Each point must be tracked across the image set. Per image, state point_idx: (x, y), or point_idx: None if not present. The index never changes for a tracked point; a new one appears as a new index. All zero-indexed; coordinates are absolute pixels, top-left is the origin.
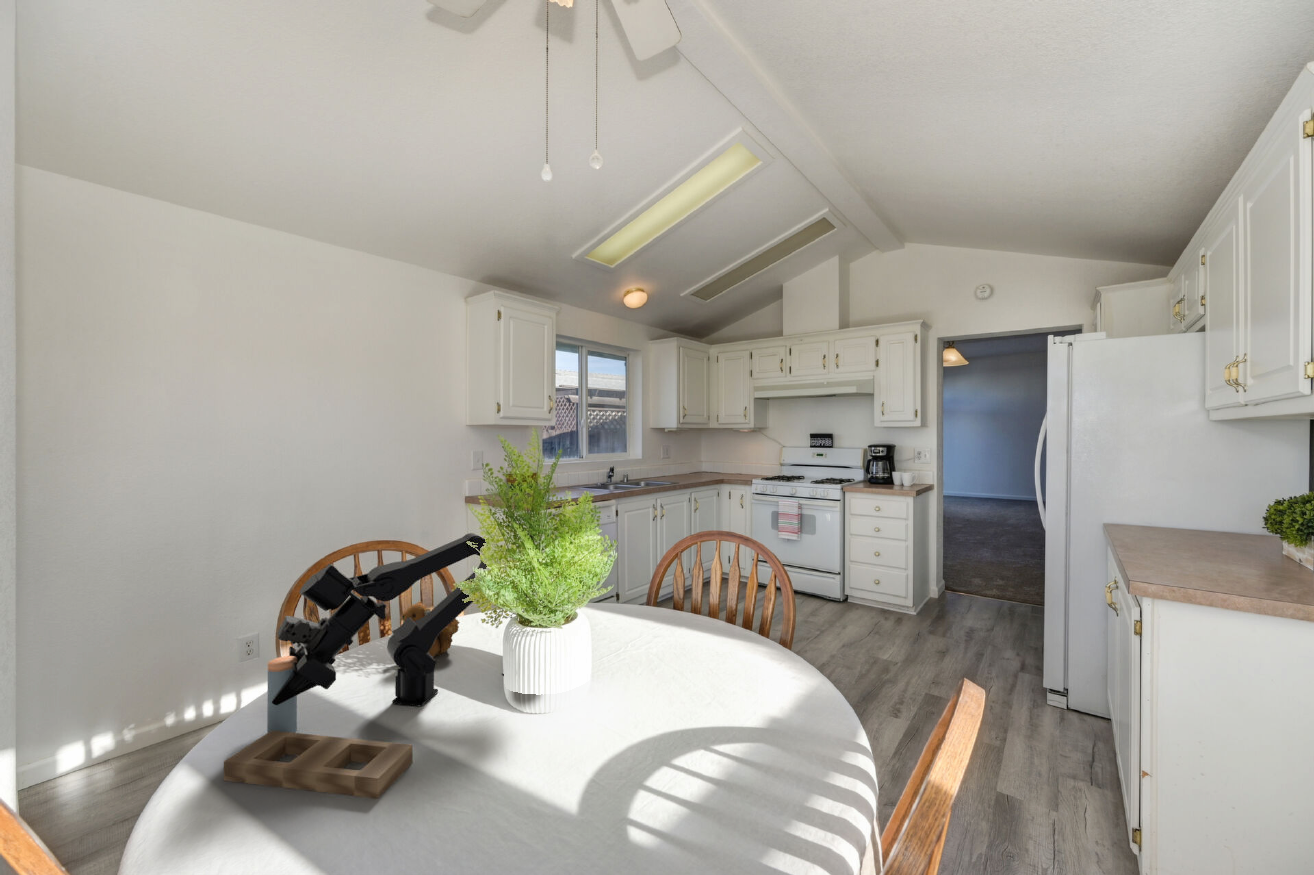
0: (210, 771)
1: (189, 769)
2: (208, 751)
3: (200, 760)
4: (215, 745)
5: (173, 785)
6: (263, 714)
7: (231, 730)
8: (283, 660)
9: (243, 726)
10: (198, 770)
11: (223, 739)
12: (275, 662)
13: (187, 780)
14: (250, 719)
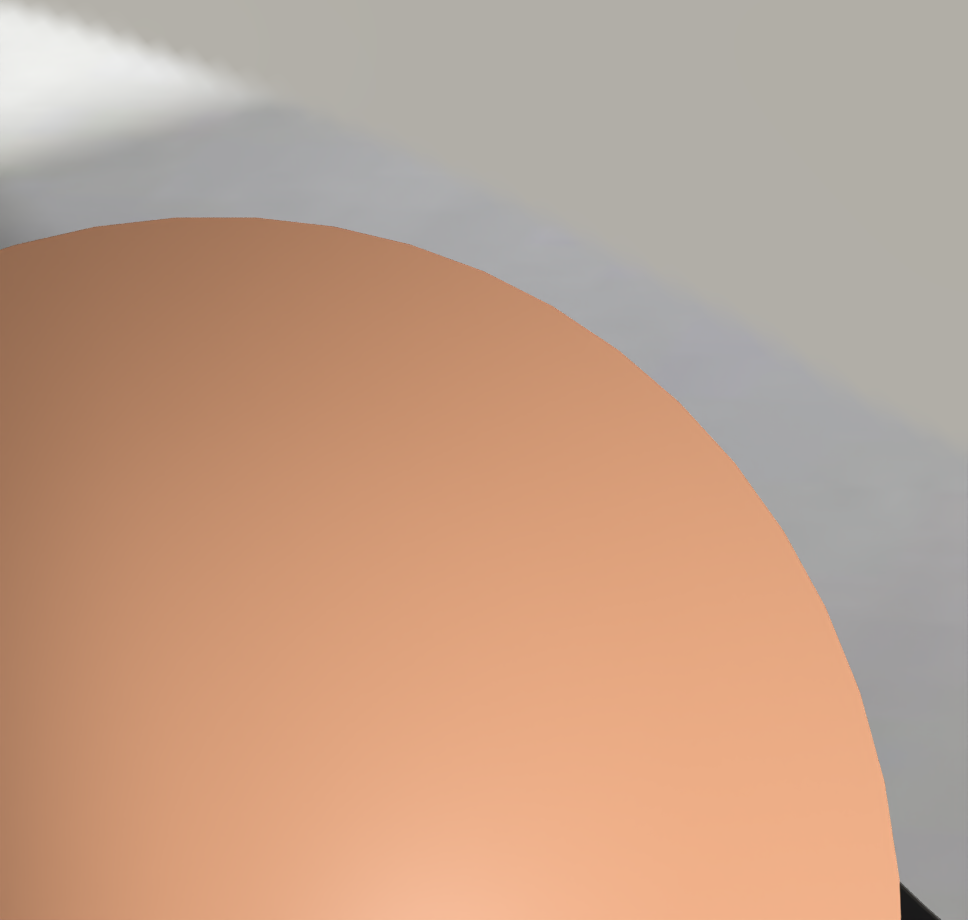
0: (51, 206)
1: (203, 95)
2: (425, 206)
3: (302, 157)
4: (503, 250)
5: (27, 14)
6: (934, 624)
7: (726, 364)
8: (239, 918)
9: (754, 452)
10: (137, 141)
11: (581, 304)
12: (206, 518)
13: (31, 82)
14: (878, 513)
